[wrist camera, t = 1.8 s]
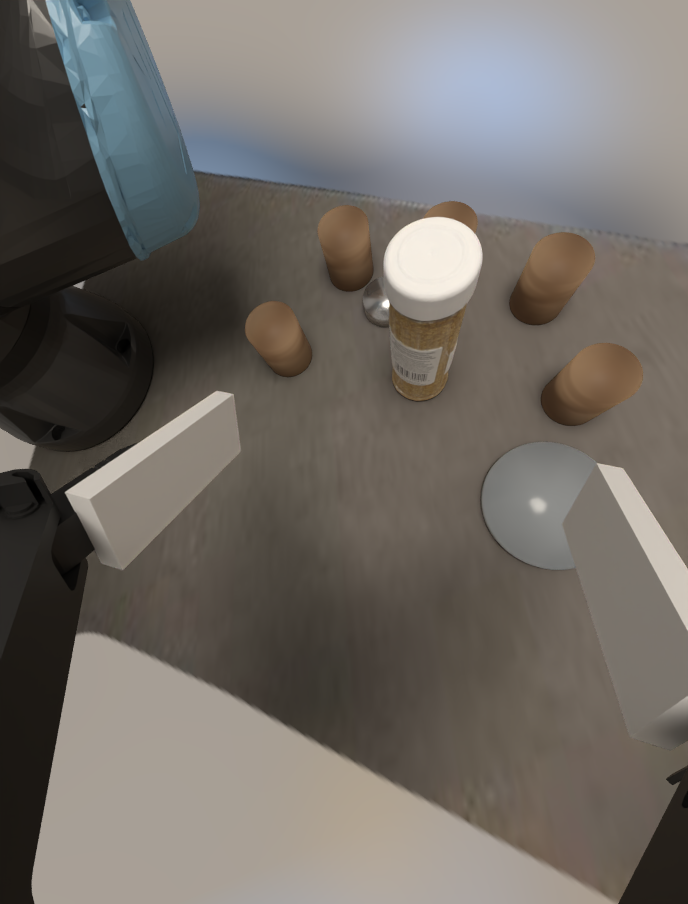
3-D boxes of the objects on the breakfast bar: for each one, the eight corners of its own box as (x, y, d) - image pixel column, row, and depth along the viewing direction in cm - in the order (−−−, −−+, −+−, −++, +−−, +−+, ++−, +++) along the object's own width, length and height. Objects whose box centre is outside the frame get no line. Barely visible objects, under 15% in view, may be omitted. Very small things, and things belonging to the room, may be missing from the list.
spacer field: (260, 363, 32) (235, 334, 27) (369, 210, 33) (363, 156, 28) (530, 524, 25) (560, 523, 20) (647, 324, 27) (701, 280, 22)
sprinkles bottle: (459, 374, 28) (507, 245, 15) (419, 413, 28) (435, 316, 15) (417, 341, 30) (429, 195, 17) (379, 378, 29) (362, 260, 16)
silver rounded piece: (360, 325, 31) (358, 315, 30) (370, 286, 32) (368, 273, 30) (405, 331, 30) (405, 320, 29) (414, 290, 31) (414, 278, 29)
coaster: (457, 521, 26) (458, 521, 25) (518, 422, 27) (521, 420, 26) (576, 596, 24) (580, 597, 23) (638, 485, 25) (644, 484, 24)
